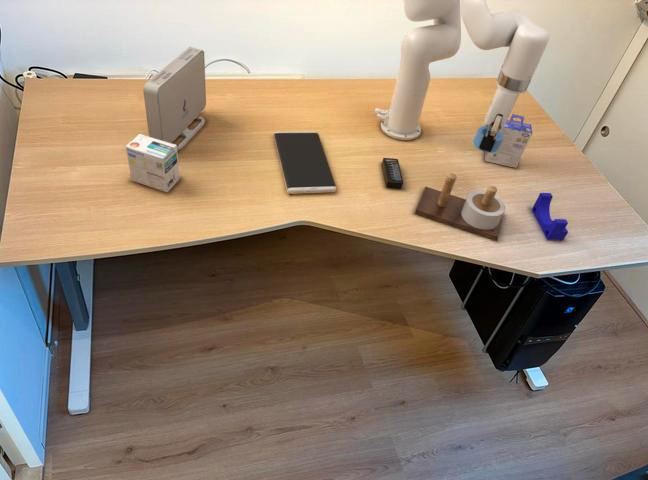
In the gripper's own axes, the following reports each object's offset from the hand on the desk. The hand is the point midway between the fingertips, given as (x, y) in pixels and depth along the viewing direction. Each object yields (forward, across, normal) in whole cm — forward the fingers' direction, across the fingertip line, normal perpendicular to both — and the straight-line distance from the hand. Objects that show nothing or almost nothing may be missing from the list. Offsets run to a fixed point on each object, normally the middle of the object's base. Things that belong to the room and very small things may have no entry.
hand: (487, 141), depth 144 cm
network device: (+16, +17, -82) cm, 85 cm away
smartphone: (+16, +13, -45) cm, 50 cm away
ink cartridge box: (+16, -18, +7) cm, 25 cm away
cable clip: (+15, +6, +23) cm, 28 cm away
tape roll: (+1, 0, 0) cm, 1 cm away
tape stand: (+15, +14, 0) cm, 20 cm away
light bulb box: (+16, +39, -76) cm, 87 cm away
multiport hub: (+16, +6, -21) cm, 27 cm away
